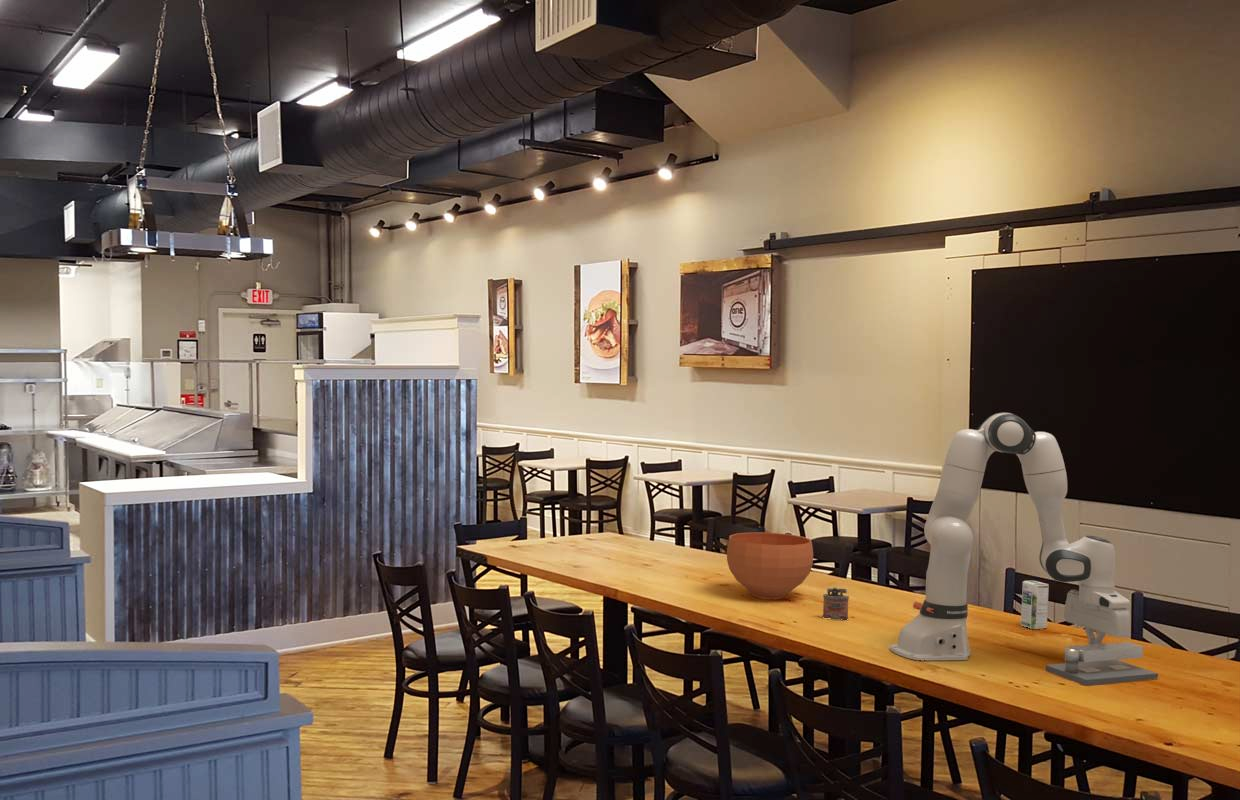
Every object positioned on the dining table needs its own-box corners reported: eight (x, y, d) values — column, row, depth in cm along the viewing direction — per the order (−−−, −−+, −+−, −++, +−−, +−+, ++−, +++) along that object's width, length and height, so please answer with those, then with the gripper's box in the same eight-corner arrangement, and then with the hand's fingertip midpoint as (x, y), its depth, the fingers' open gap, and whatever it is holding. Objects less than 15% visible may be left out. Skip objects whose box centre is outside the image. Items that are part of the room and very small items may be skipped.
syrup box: (1019, 626, 320) (1021, 580, 320) (1034, 625, 322) (1036, 580, 322) (1033, 630, 315) (1034, 584, 315) (1047, 629, 317) (1049, 583, 317)
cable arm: (1073, 663, 260) (1074, 651, 260) (1059, 658, 265) (1059, 646, 265) (1142, 657, 268) (1143, 646, 268) (1127, 652, 272) (1127, 641, 272)
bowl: (793, 609, 335) (795, 548, 334) (711, 598, 350) (713, 539, 349) (823, 594, 361) (824, 537, 360) (745, 584, 376) (747, 529, 375)
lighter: (822, 619, 322) (823, 587, 322) (822, 616, 326) (823, 586, 325) (848, 621, 320) (849, 589, 320) (848, 618, 324) (849, 587, 323)
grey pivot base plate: (1085, 685, 256) (1086, 669, 256) (1045, 670, 269) (1046, 654, 269) (1157, 679, 264) (1158, 663, 264) (1115, 664, 277) (1115, 649, 277)
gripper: (1059, 588, 285) (1057, 637, 285) (1116, 604, 265) (1115, 656, 266) (1076, 587, 287) (1075, 635, 287) (1135, 602, 268) (1133, 654, 268)
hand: (1094, 645), depth 276 cm, fingers closed
